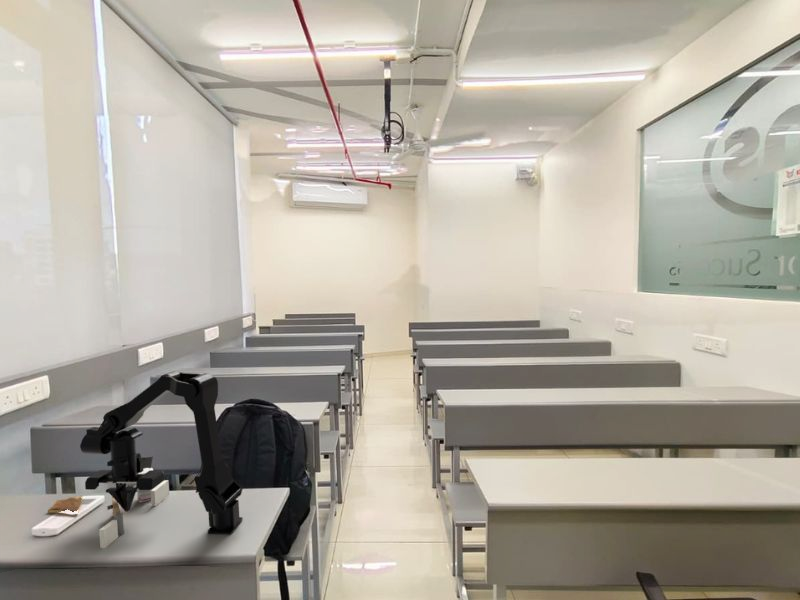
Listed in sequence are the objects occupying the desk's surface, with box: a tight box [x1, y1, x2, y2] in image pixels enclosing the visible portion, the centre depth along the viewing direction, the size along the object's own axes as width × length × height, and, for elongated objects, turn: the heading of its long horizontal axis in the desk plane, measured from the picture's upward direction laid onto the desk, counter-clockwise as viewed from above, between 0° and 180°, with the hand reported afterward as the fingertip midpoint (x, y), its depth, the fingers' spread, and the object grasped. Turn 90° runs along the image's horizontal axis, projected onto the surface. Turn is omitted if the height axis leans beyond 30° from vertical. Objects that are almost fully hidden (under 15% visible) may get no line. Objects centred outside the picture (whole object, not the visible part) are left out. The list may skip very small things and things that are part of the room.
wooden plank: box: [106, 496, 121, 517], centre depth 111 cm, size 10×2×5 cm, turn 39°
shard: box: [47, 496, 83, 514], centre depth 118 cm, size 11×8×2 cm
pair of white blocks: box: [98, 479, 170, 549], centre depth 112 cm, size 2×24×5 cm, turn 175°
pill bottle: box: [136, 467, 155, 503], centre depth 123 cm, size 5×5×8 cm
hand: (127, 510), depth 112 cm, fingers closed
